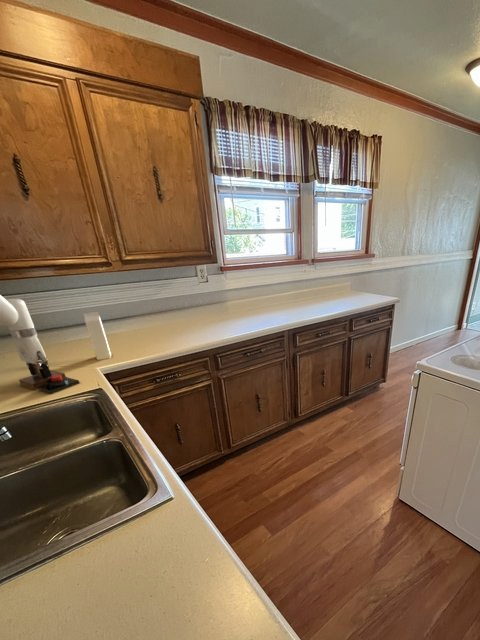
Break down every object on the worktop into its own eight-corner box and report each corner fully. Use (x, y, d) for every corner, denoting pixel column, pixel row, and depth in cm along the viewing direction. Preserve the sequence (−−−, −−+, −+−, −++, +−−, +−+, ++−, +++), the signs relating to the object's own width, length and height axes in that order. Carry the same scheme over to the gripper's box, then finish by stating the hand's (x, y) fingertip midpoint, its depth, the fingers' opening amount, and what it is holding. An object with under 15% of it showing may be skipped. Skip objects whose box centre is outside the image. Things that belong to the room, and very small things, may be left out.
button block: (51, 394, 123) (48, 386, 122) (39, 391, 127) (36, 383, 125) (79, 384, 132) (77, 376, 131) (68, 380, 135) (65, 373, 134)
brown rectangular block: (47, 377, 131) (43, 367, 129) (43, 378, 130) (39, 368, 128) (41, 374, 134) (37, 364, 132) (36, 375, 133) (32, 365, 131)
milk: (98, 357, 162) (83, 312, 152) (111, 355, 164) (98, 310, 154) (97, 360, 157) (82, 314, 147) (111, 358, 159) (97, 313, 149)
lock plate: (35, 391, 127) (32, 383, 125) (21, 386, 131) (18, 379, 129) (67, 379, 136) (64, 372, 135) (52, 376, 140) (50, 369, 139)
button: (55, 382, 126) (53, 378, 125) (49, 381, 127) (48, 377, 126) (64, 379, 129) (63, 375, 128) (59, 378, 130) (57, 374, 129)
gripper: (0, 333, 125) (19, 375, 133) (25, 338, 117) (44, 382, 126) (22, 328, 131) (39, 369, 139) (47, 332, 123) (63, 376, 131)
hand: (41, 375), depth 132 cm, fingers open, 7 cm apart
